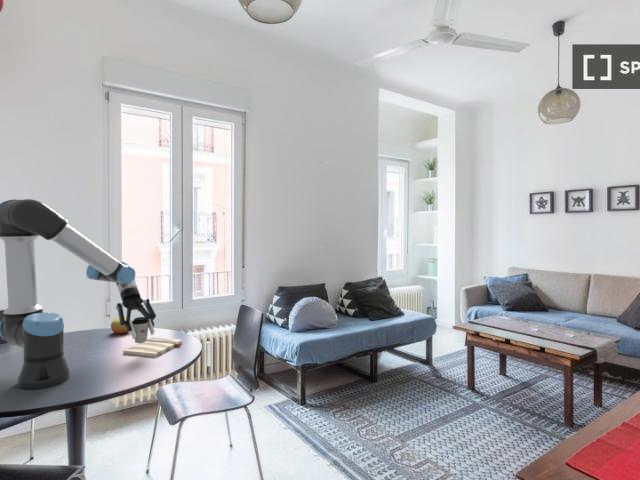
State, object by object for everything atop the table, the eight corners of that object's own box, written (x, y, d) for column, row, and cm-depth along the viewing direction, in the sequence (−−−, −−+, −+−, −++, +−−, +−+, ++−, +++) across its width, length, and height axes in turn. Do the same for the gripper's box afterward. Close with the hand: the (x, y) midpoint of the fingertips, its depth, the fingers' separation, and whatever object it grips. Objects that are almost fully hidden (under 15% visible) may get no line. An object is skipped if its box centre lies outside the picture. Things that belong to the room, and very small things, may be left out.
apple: (106, 334, 194) (106, 318, 194) (121, 329, 204) (121, 314, 203) (121, 336, 191) (121, 320, 191) (136, 331, 200) (136, 316, 200)
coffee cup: (128, 343, 163) (127, 319, 162) (140, 338, 169) (139, 315, 169) (141, 344, 161) (140, 321, 160) (153, 339, 167) (152, 317, 167)
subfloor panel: (159, 357, 163) (159, 353, 162) (120, 353, 167) (120, 349, 166) (185, 343, 182) (185, 339, 182) (149, 340, 186) (149, 336, 186)
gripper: (149, 293, 182) (164, 335, 171) (103, 300, 168) (116, 345, 157) (153, 284, 178) (169, 325, 167) (106, 289, 163) (120, 335, 153)
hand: (143, 335), depth 162 cm, fingers closed on coffee cup, 7 cm apart
